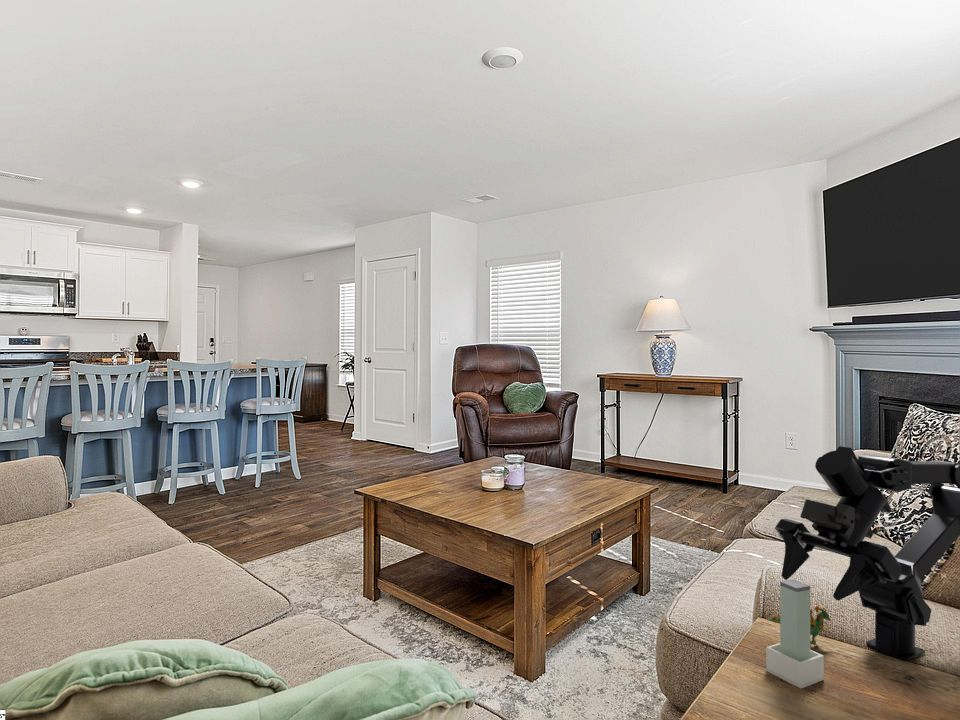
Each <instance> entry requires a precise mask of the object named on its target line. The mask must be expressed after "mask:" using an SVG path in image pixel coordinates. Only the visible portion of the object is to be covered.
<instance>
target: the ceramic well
mask: <svg viewBox="0 0 960 720" xmlns="http://www.w3.org/2000/svg"><path fill="white" fill-rule="evenodd" d="M765 653H766V656H765V657H766V658H765V661H766V662H765V664H766V666H765V668H766V672H768V673H770V674H772V675H773V676H775V677H777V678H780V679H781V680H783V681H784V682H787V683H789V684H791V685H792V686H794V687H797V688H799V689H804V688H806V687H810V686H812V685H814V684H817V683H820V682H822V681H824V678H825V676H824V674H825V671H824V666H825V664H824V663H825V662H824V659H825V658H824V657H825V656H824V655H823V654H821V653H819V652H816V651H814V650H812V649H810V659H807V660H804V661H802V662H799V661H797V660H795V659H793V658H790V657H788V656H786V655H784V654H782V653H780V642H779V643H775V644H772V645H770V646H769V645H768V646H766V651H765Z"/></svg>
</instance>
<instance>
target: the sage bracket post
mask: <svg viewBox="0 0 960 720" xmlns="http://www.w3.org/2000/svg"><path fill="white" fill-rule="evenodd" d="M779 582H780V583H779V585H780V586H779V587H780V588H779V589H780V590H779V594H780V595H779V601H780V602H779V604H780V605H779V607H780V609H779V611H780V612H779V615H780V616H779V618H780V623H779V624H780V627H779V628H780V629H779V631H780V632H779V633H780V634H779V638H780V639H779V643H780V653H782V654H784V655H786V656H788V657H790V658H793V659H795V660H797V661H799V662H802V661H804V660H807V659H810V650H811V643H810V641H811V635H810V609H811V585H809V584H807V583H803V582H802V581H799V580H796V579H789V580H788V579H787V580H783V581H779Z"/></svg>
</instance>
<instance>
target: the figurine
mask: <svg viewBox="0 0 960 720" xmlns="http://www.w3.org/2000/svg"><path fill="white" fill-rule="evenodd" d="M814 610H815V612H816V613H818V614H816V617H815V618H814V616H813V611H814ZM814 610H813V609H811V608H810V636H812V637H811V640H810V642H813V643H812V644H813V645H814V646H815V645H816V646H815V647H817V645H818V644H817V641H816V640H815V639H816V637H817V636H818V635H819V633H820V631H822V632H823V633H824V632H825V633H828V632H829V630H826V629H825V628H824V626H825V625H824V622H825V620H827V621H828V622H831V618H830V616H829V615H830V614H829V613H828V612H827V609H826V607H822V608H821V607H820V606H819V605H816V606H815V607H814ZM819 611H820V612H819ZM778 616H779V617H778ZM778 616H777V615H772V618H771V617H770V618H767V620H768V621H769V622H773V623H776V624H777V623H779V624H780V614H778Z"/></svg>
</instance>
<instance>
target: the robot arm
mask: <svg viewBox="0 0 960 720" xmlns="http://www.w3.org/2000/svg"><path fill="white" fill-rule="evenodd" d="M814 467H815V470H816V471H817V472H818V475H820V477H821V478H822V479H823V480H824V482H825V483H826V485H827V486H828V487H829V489H830V491H832V493H833V494H835V495H837V496H838V497H840V499H839V501H838V502H837V503H836V504H835V506H834V505H831V504H828V503H824V502H819V501H815V500H812V499H805V501H804V504H803V506H802V509H801V513H800V516H799V517H800V518H801V519H806V520H808V521H810V522H811V523H812V524H811V527H812V528H813V530H814V531H816V532H818V534H813V533H811V532H810V531H809V530H808V528H807V526H805V524H804V523H803V522H799V521H795V520H792V519H789V518H780V520H779V521H778V522H777V524H776V525H775V527H774V529H775V531H776V532H777V533H778V535H779V537H780V538H781V539H782V540H783V542H784V555H783V556H784V558H783V563H782V570H781V577H782V579H783V580H784V581H787V580H788V579H790V578H791V577H792V576H793V575H795V574H796V572H797V571H798V570H799V569H800V568H801V566H802V565H804V563H806V561H808V559H809V558H810V556H811V555H810V554H809V553H810V552H812V551H813V550H814V548H815V547H816V548H819V549H822V550H825V551H828V552H831V553H835V554H838V555H842V556H844V557H847V558H849V566H848V568H847V569H846V571H845V573H844V575H842V577H841V580H840V581H839V583H838V584H837V586H836V588H835V590H834V592H833V595H832V597H833V598H834V600H835V601H841V600H843V599H844V598H847V597H849V596H851V595H853V594H855V593H857V592H858V593H859V598H860V601H861V606H862V607H863V608H865V609H866V608H867V609H869V610H872V611H874V613H875V614H874V619H875V620H874V622H875V623H874V635H875V636H874V638H872V639H870V640H867V641H866V642H865V645H866V646H869V647H871V648H873V649H876V650H878V651H879V652H883V653H885V654H888V655H890V656H892V657H895V658H898V659H900V660H902V661H905V662H907V661H910V660H913V659H915V658H917V657H920V656H922V655H924V654H926V650H925V649H924V648H921V647H918V646H916V626H921V627H926V626H927V623H929V622H930V618H931V614H932V608H930V606H929V604H928V603H927V602H926V600H924V598H923V596H924V593H923V585H922V580H923V579H924V577H925V576H926V575H927V574H928V573H929V572H930V571H931V569H932V568H933V567H934V566H935V565H936V564H937V563H938V561H939V560H940V559H941V558H942V556H944V554H945V553H946V552H947V551H948V550H949V548H950V547H951V546H952V545H953V544H954V543H955V542H956V540H957V539H958V538H959V537H960V463H959V462H953V461H944V460H937V459H934V460H927V461H915V460H914V461H912V460H911V461H910V460H909V461H908V460H905V459H902V458H895V457H888V456H881V455H875V454H874V455H873V454H866V453H864V454H860V455H859V456H858V457H857V455H856V454H855V452H854V449H852V447H849V446H842V445H839V446H838V447H837V449H835V450H831V451H829V452H827V453H824V454H823V455H822V456H819V457H818V458H817V459H816V462H815V466H814ZM924 484H925V485H929V487H928V491H927V493H928V495H929V497H930V498H931V503H932V510H933V513H932V514H931V516H930V517H928V519H927V520H926V521H925V522H924V523H923V524H922V525H921V526H920V528H919V529H918V530H917V531H916V532H914V534H913V535H912V536H911V537H910V539H908V541H907V542H906V543H905V544H904V545H903V547H901V548H900V550H898V552H897V553H896V554H895V555H894V554H893V553H892V552H891V550H890V549H889V548H888V547H887V546H886V545H881V544H878V543H875V542H870V541H867V540H865V538H868V539H872V537H873V536H874V532H873V531H872V530H871V528H872V527H873V525H874V523H875V521H876V520H877V518H878V517H879V514H880V513H881V512H882V513H887V514H890V513H891V512H892V509H891V508H892V507H891V505H890V503H889V500H888V496H885V495H883V493H882V491H881V490H885V491H888V492H889V491H890V492H895V493H900V492H903V491H907V490H909V489H911V488H912V485H924ZM943 484H945V485H943ZM946 484H948V485H946ZM949 484H950V485H949ZM951 485H956V486H951ZM915 646H916V647H915Z"/></svg>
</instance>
